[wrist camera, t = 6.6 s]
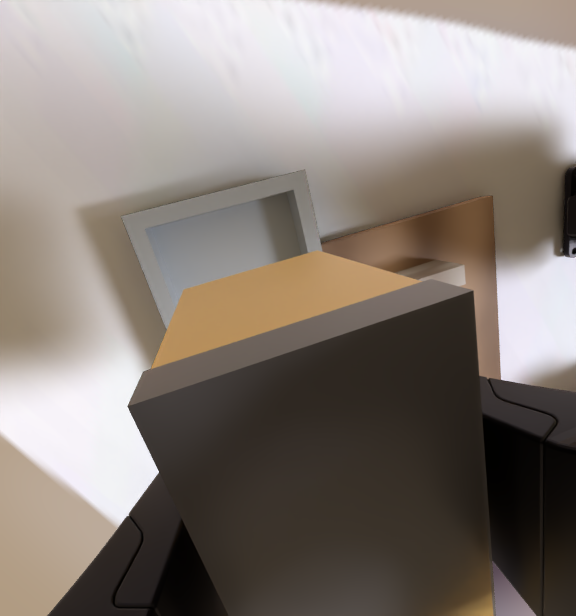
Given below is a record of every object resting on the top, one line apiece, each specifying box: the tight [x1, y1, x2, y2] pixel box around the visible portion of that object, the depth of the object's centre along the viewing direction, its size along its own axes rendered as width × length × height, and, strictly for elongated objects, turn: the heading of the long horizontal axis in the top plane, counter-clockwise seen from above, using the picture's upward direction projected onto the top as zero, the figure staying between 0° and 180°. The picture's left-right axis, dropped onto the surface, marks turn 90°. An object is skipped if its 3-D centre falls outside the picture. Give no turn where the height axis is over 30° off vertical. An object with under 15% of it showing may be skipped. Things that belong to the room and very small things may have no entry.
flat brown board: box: [321, 196, 501, 380], centre depth 22 cm, size 12×16×4 cm
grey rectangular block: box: [128, 250, 496, 616], centre depth 8 cm, size 4×7×6 cm, turn 14°
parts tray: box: [121, 170, 323, 330], centre depth 19 cm, size 9×12×2 cm
